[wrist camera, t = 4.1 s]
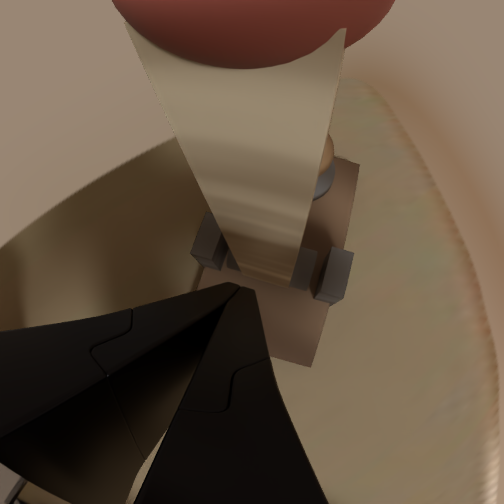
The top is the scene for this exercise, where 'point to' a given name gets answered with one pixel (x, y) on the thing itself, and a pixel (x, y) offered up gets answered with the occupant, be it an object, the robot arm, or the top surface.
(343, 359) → the top surface
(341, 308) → the top surface
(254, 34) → the lever
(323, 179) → the base
